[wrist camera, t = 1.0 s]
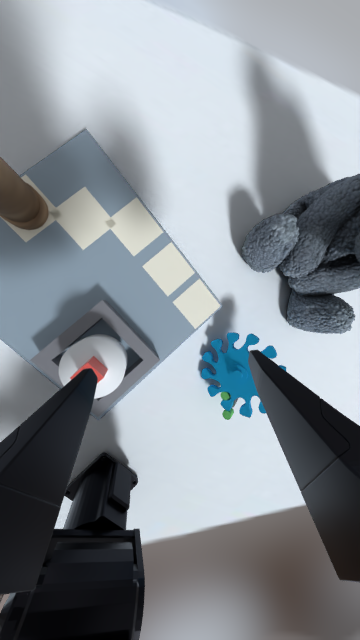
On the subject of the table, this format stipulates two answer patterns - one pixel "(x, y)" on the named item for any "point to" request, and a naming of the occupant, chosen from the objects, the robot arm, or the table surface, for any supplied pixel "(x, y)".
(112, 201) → the board
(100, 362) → the dome button
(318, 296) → the koala plush
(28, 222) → the brown wooden cylinder
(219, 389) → the blue spiky piece
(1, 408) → the table surface
